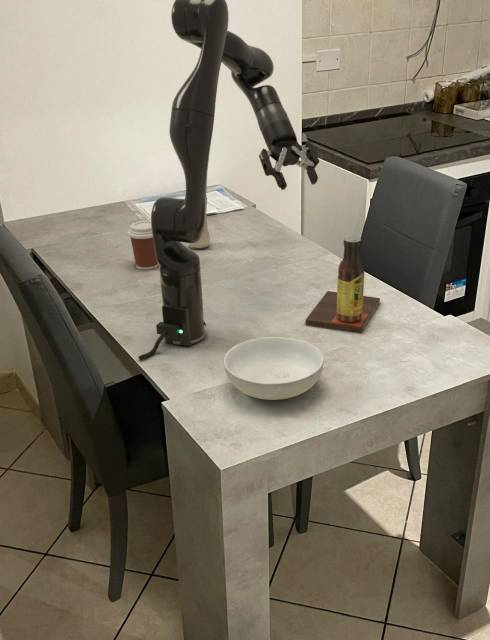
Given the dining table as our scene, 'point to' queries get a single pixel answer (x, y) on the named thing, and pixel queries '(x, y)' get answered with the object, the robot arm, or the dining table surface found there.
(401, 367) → the dining table surface
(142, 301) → the dining table surface
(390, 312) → the dining table surface
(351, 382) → the dining table surface
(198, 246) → the plastic bottle
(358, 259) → the sauce bottle
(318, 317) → the walnut board
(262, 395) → the serving bowl
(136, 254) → the coffee cup
